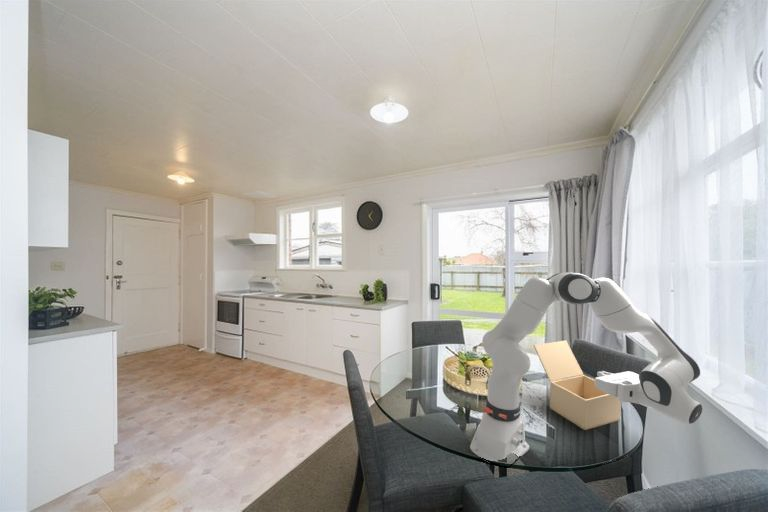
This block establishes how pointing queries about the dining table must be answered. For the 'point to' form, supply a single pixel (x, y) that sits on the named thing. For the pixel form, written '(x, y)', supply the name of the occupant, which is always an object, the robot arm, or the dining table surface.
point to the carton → (583, 402)
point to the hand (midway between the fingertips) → (599, 373)
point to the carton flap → (558, 360)
